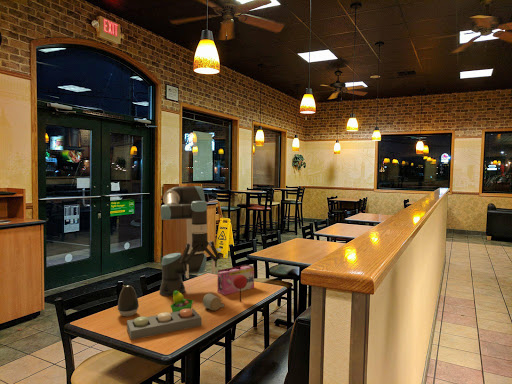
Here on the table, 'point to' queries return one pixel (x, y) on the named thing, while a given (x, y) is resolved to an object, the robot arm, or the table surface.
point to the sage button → (141, 321)
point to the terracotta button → (186, 313)
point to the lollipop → (240, 282)
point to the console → (163, 325)
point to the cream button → (164, 317)
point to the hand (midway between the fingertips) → (200, 275)
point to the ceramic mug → (212, 302)
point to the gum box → (228, 277)
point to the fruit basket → (180, 302)
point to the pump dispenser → (128, 301)
